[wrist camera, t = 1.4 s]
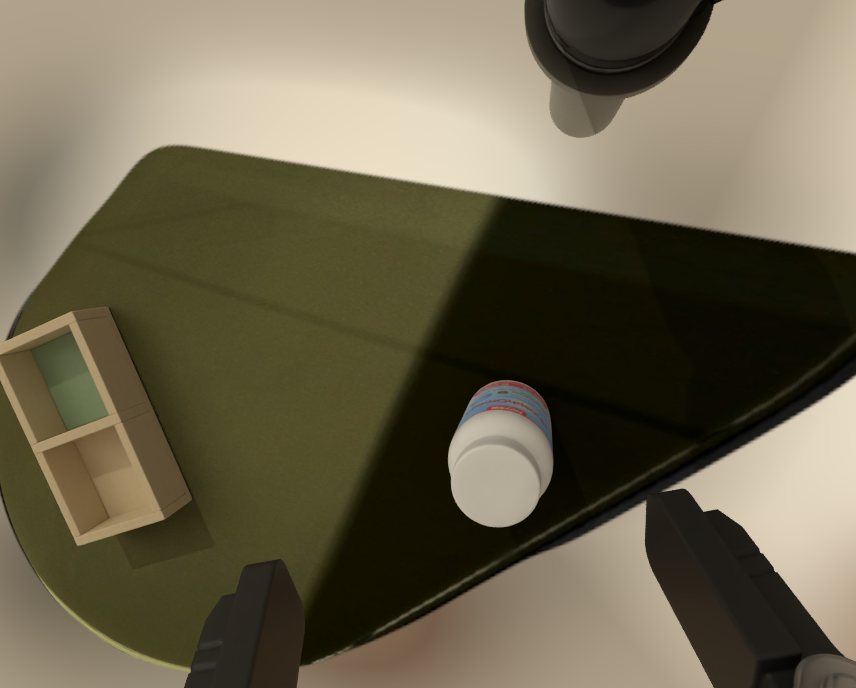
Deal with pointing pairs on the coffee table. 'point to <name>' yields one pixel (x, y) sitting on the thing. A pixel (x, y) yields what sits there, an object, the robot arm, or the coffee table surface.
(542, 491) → the pill bottle
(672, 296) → the coffee table surface
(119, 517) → the holder
